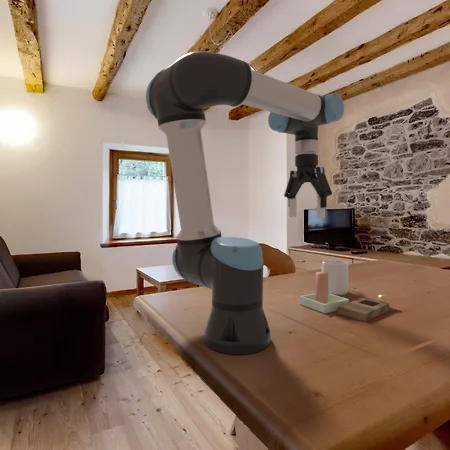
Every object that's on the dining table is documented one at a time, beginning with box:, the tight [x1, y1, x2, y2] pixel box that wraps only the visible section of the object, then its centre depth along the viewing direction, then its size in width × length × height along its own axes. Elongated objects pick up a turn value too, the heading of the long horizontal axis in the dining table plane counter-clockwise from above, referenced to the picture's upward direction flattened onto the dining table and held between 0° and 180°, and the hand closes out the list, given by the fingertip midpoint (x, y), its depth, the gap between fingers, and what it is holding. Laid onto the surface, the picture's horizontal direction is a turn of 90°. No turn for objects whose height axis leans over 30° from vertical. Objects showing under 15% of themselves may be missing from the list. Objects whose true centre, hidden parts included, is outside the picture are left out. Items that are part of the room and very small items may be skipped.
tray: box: [298, 292, 350, 315], centre depth 98 cm, size 10×10×3 cm
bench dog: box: [377, 293, 390, 303], centre depth 96 cm, size 3×3×4 cm
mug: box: [321, 259, 349, 296], centre depth 115 cm, size 12×9×11 cm
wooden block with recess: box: [337, 297, 390, 322], centre depth 92 cm, size 14×8×3 cm, turn 129°
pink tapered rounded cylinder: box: [315, 271, 328, 304], centre depth 97 cm, size 4×4×10 cm
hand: (306, 217), depth 110 cm, fingers open, 13 cm apart
